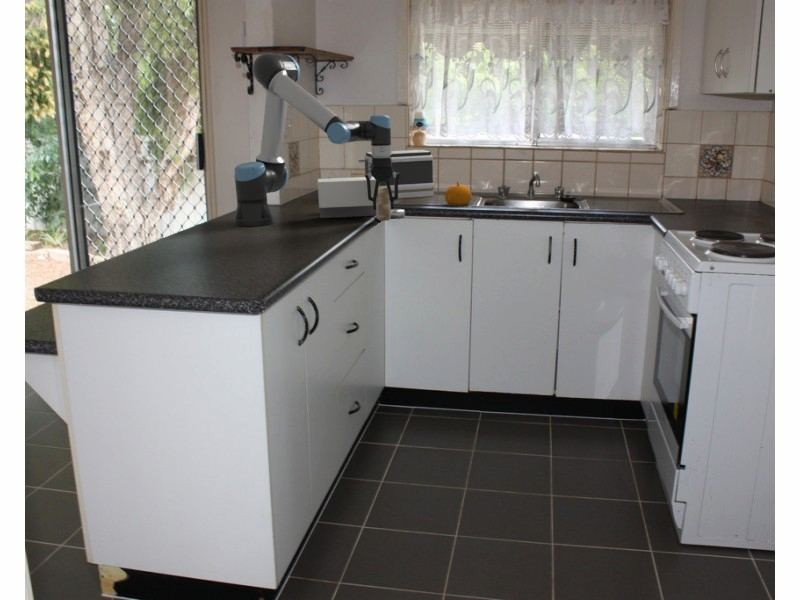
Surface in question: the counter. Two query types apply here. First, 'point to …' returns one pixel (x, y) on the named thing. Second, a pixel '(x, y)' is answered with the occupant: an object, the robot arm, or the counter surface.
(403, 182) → the toaster
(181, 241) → the counter surface
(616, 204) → the counter surface
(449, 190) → the fruit
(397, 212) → the token
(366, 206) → the two-tone white block
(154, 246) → the counter surface
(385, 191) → the mottled tan block
